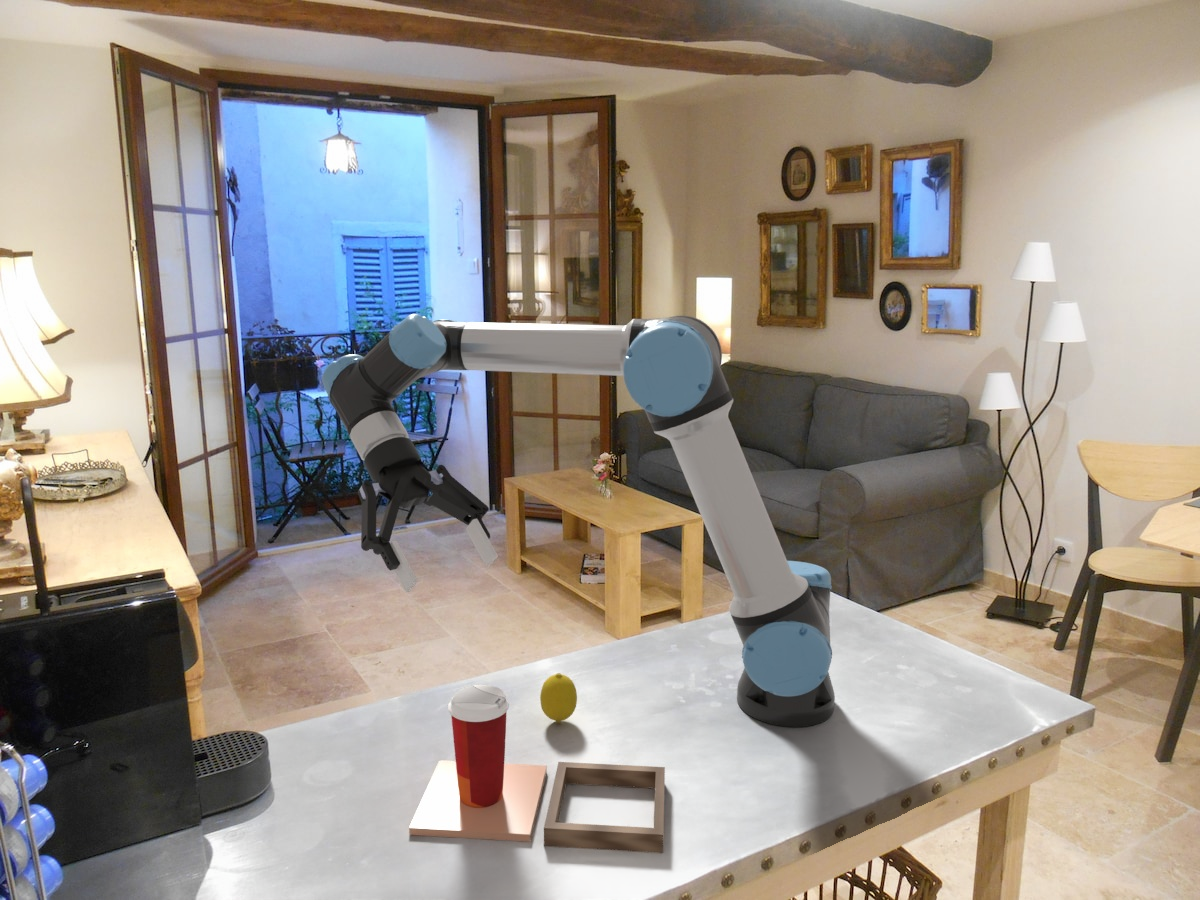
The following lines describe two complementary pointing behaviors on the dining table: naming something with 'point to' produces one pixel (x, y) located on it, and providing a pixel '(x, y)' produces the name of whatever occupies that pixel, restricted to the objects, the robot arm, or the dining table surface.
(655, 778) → the walnut frame
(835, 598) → the dining table surface
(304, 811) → the dining table surface
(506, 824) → the terracotta tile
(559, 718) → the lemon
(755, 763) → the dining table surface
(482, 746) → the paper cup
